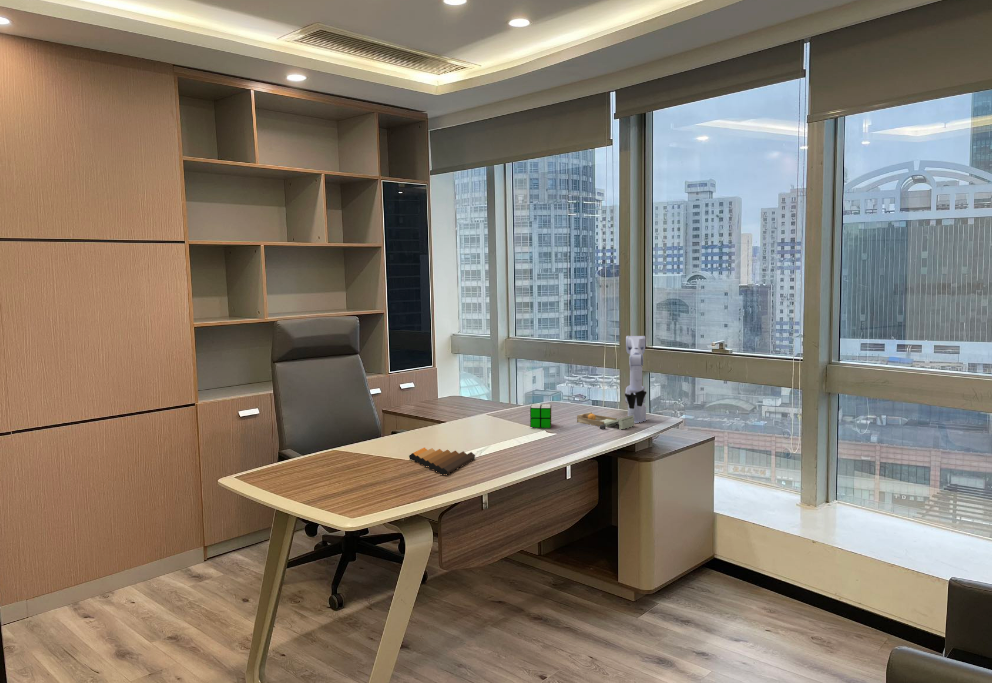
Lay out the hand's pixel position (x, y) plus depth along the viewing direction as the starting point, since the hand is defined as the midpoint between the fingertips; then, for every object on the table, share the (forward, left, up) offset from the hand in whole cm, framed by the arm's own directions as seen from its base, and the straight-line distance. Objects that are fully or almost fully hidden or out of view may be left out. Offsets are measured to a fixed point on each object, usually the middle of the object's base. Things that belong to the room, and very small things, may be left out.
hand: (635, 407), depth 339 cm
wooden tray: (+4, -20, -10) cm, 23 cm away
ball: (+4, -23, -8) cm, 25 cm away
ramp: (+4, -10, -10) cm, 14 cm away
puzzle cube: (+28, -36, -10) cm, 47 cm away
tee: (+13, -10, -10) cm, 19 cm away
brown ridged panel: (+109, -22, -11) cm, 112 cm away
